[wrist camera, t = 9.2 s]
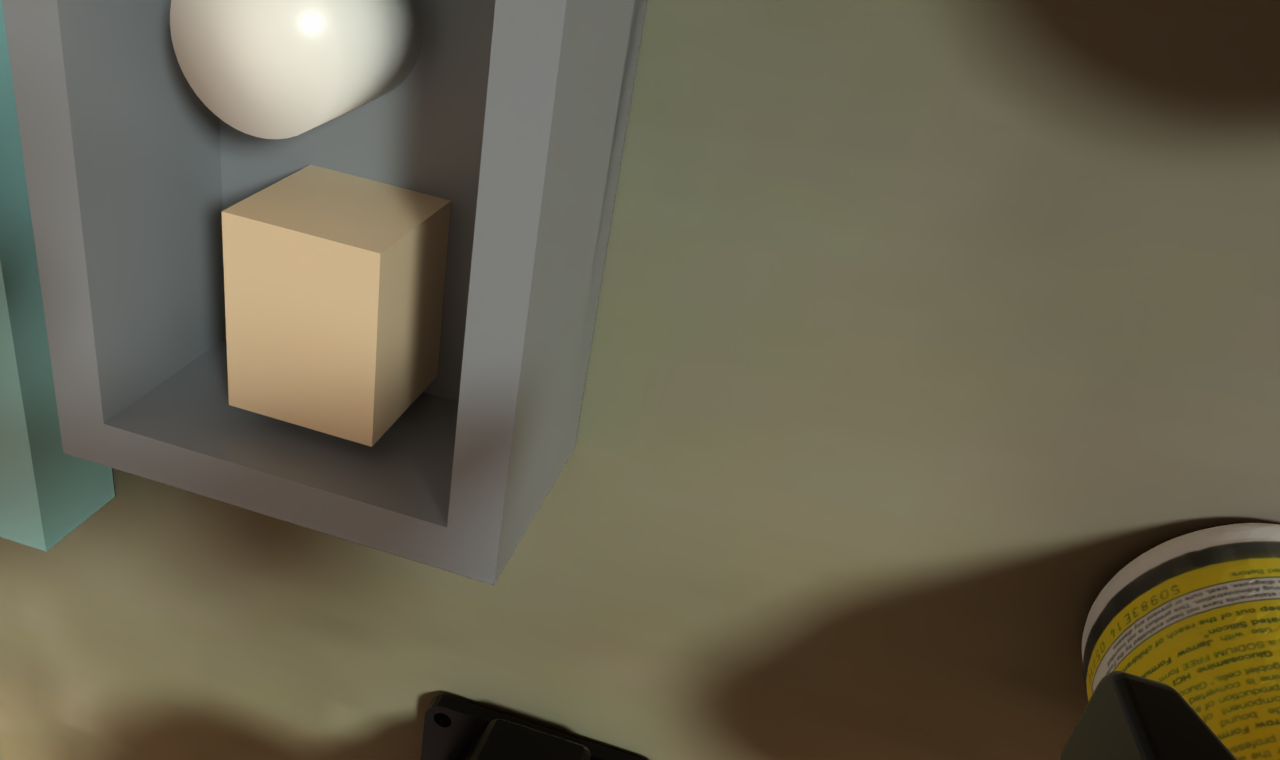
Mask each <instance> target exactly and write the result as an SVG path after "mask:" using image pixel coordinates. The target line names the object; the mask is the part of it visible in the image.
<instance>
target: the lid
mask: <svg viewBox="0 0 1280 760" xmlns="http://www.w3.org/2000/svg"><path fill="white" fill-rule="evenodd" d="M114 497H115V492H114V483H113V474H112V468H111V467H107V466H104V465H101V464H98V463H94V462H91V461H88V460H85V459H81V458H78V457H75V456H72V455H68V454H65V453H63V448H62V440H61V433H60V426H59V418H58V411H57V403H56V396H55V389H54V381H53V374H52V367H51V359H50V352H49V345H48V337H47V330H46V323H45V315H44V308H43V301H42V293H41V286H40V278H39V271H38V264H37V256H36V249H35V242H34V234H33V227H32V220H31V212H30V205H29V198H28V190H27V183H26V176H25V168H24V161H23V154H22V146H21V139H20V131H19V124H18V117H17V109H16V102H15V95H14V87H13V80H12V73H11V65H10V58H9V51H8V43H7V36H6V29H5V21H4V14H3V6H2V0H0V537H2V538H5V539H8V540H11V541H14V542H18V543H21V544H24V545H27V546H30V547H33V548H36V549H39V550H42V551H46V552H47V551H48V550H49V549H50V548H52V547H53V546H54V545H55V544H57V543H58V542H59V541H60V540H62V539H63V538H64V537H65V536H67V535H68V534H69V533H70V532H72V531H73V530H74V529H75V528H76V527H78V526H79V525H80V524H81V523H83V522H84V521H85V520H86V519H88V518H89V517H90V516H91V515H93V514H94V513H95V512H96V511H98V510H99V509H100V508H101V507H103V506H104V505H105V504H106V503H108V502H109V501H110V500H111V499H113V498H114Z"/></svg>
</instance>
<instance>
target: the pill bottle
mask: <svg viewBox="0 0 1280 760" xmlns="http://www.w3.org/2000/svg"><path fill="white" fill-rule="evenodd" d="M1082 662H1083V676H1084V682H1085V688H1086V693H1087V696H1088V702H1089V700H1090V698H1091V696H1092V694H1093V692H1094V690H1095V688H1096V687H1097V685H1098V683H1099V682H1100V680H1101V679H1102V678H1103V677H1104V676H1105V675H1106V674H1107V673H1110V672H1114V671H1123V672H1126V673H1130V674H1133V675H1137V676H1140V677H1143V678H1147V679H1150V680H1154V681H1157V682H1161V683H1164V684H1167V685H1169V686H1171V687H1172V688H1174V689H1175V690H1176V691H1177V692H1178V693H1179V694H1180V695H1181V696H1182V697H1183V698H1184V699H1185V700H1186V702H1187V703H1188V704H1189V705H1190V706H1191V707H1192V708H1193V710H1194V711H1195V712H1196V713H1197V714H1198V715H1199V716H1200V718H1201V719H1202V720H1203V721H1204V722H1205V723H1206V724H1207V726H1208V727H1209V728H1210V729H1211V730H1212V731H1213V732H1214V734H1215V735H1216V736H1217V737H1218V738H1219V739H1220V740H1221V742H1222V743H1223V744H1224V745H1225V746H1226V747H1227V748H1228V750H1229V751H1230V752H1231V753H1232V754H1233V755H1234V756H1235V758H1236V759H1237V760H1280V524H1268V523H1240V524H1230V525H1223V526H1217V527H1212V528H1207V529H1203V530H1199V531H1195V532H1192V533H1188V534H1185V535H1182V536H1179V537H1176V538H1174V539H1171V540H1169V541H1166V542H1164V543H1162V544H1160V545H1158V546H1156V547H1154V548H1152V549H1150V550H1149V551H1147V552H1145V553H1143V554H1141V555H1140V556H1138V557H1137V558H1136V559H1134V560H1133V561H1131V562H1130V563H1129V564H1127V565H1126V566H1125V567H1124V568H1122V569H1121V570H1120V571H1119V572H1118V573H1117V574H1116V575H1115V576H1114V577H1113V578H1112V579H1111V580H1110V581H1109V582H1108V583H1107V584H1106V586H1105V587H1104V588H1103V589H1102V591H1101V592H1100V594H1099V595H1098V597H1097V598H1096V600H1095V601H1094V603H1093V605H1092V607H1091V610H1090V612H1089V614H1088V617H1087V620H1086V624H1085V627H1084V632H1083V637H1082Z"/></svg>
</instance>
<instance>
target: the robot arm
mask: <svg viewBox="0 0 1280 760" xmlns="http://www.w3.org/2000/svg"><path fill="white" fill-rule="evenodd" d="M421 760H644V759H641V758H638V757H635V756H632V755H629V754H626V753H622V752H619V751H616V750H613V749H610V748H607V747H604V746H601V745H598V744H595V743H592V742H589V741H586V740H582V739H579V738H576V737H573V736H570V735H567V734H564V733H561V732H558V731H555V730H552V729H549V728H546V727H542V726H539V725H536V724H533V723H530V722H527V721H524V720H521V719H518V718H515V717H512V716H509V715H506V714H502V713H499V712H496V711H493V710H490V709H487V708H484V707H481V706H478V705H475V704H472V703H469V702H466V701H462V700H459V699H456V698H453V697H450V696H445V695H442V696H437V697H436V698H434V699H433V700H432V702H431V704H430V706H429V707H428V709H427V711H426V714H425V722H424V734H423V745H422V756H421ZM1060 760H1237V759H1236V758H1235V756H1234V755H1233V754H1232V753H1231V752H1230V751H1229V750H1228V748H1227V747H1226V746H1225V745H1224V744H1223V743H1222V742H1221V740H1220V739H1219V738H1218V737H1217V736H1216V735H1215V734H1214V732H1213V731H1212V730H1211V729H1210V728H1209V727H1208V726H1207V724H1206V723H1205V722H1204V721H1203V720H1202V719H1201V718H1200V716H1199V715H1198V714H1197V713H1196V712H1195V711H1194V710H1193V708H1192V707H1191V706H1190V705H1189V704H1188V703H1187V702H1186V700H1185V699H1184V698H1183V697H1182V696H1181V695H1180V694H1179V693H1178V692H1177V691H1176V690H1175V689H1174V688H1172V687H1171V686H1169V685H1167V684H1164V683H1161V682H1157V681H1154V680H1150V679H1147V678H1143V677H1140V676H1137V675H1133V674H1130V673H1126V672H1123V671H1114V672H1110V673H1107V674H1106V675H1105V676H1104V677H1103V678H1102V679H1101V680H1100V682H1099V683H1098V685H1097V687H1096V688H1095V690H1094V692H1093V694H1092V696H1091V698H1090V700H1089V702H1088V704H1087V705H1086V707H1085V709H1084V711H1083V713H1082V715H1081V717H1080V719H1079V721H1078V722H1077V724H1076V726H1075V728H1074V730H1073V732H1072V734H1071V736H1070V737H1069V739H1068V741H1067V743H1066V745H1065V747H1064V749H1063V752H1062V755H1061V758H1060Z"/></svg>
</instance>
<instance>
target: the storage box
mask: <svg viewBox="0 0 1280 760" xmlns="http://www.w3.org/2000/svg"><path fill="white" fill-rule="evenodd" d="M646 4H647V0H2V6H3V14H4V21H5V29H6V36H7V43H8V51H9V58H10V65H11V73H12V80H13V87H14V95H15V102H16V109H17V117H18V124H19V131H20V139H21V146H22V154H23V161H24V168H25V176H26V183H27V190H28V198H29V205H30V212H31V220H32V227H33V234H34V242H35V249H36V256H37V264H38V271H39V278H40V286H41V293H42V301H43V308H44V315H45V323H46V330H47V337H48V345H49V352H50V359H51V367H52V374H53V381H54V389H55V396H56V403H57V411H58V418H59V426H60V433H61V440H62V448H63V453H65V454H68V455H72V456H75V457H78V458H81V459H85V460H88V461H91V462H94V463H98V464H101V465H104V466H107V467H111V468H114V469H117V470H120V471H124V472H127V473H130V474H133V475H137V476H140V477H143V478H146V479H150V480H153V481H156V482H159V483H163V484H166V485H169V486H172V487H176V488H179V489H182V490H185V491H189V492H192V493H195V494H198V495H202V496H205V497H208V498H211V499H215V500H218V501H221V502H224V503H228V504H231V505H234V506H237V507H241V508H244V509H247V510H250V511H254V512H257V513H260V514H263V515H267V516H270V517H273V518H276V519H280V520H283V521H286V522H289V523H293V524H296V525H299V526H302V527H306V528H309V529H312V530H315V531H319V532H322V533H325V534H328V535H332V536H335V537H338V538H341V539H345V540H348V541H351V542H354V543H358V544H361V545H364V546H367V547H371V548H374V549H377V550H380V551H384V552H387V553H390V554H393V555H397V556H400V557H403V558H406V559H410V560H413V561H416V562H419V563H423V564H426V565H429V566H432V567H436V568H439V569H442V570H445V571H449V572H452V573H455V574H458V575H462V576H465V577H468V578H471V579H475V580H478V581H481V582H484V583H488V584H491V585H494V584H495V582H496V581H497V579H498V577H499V576H500V574H501V572H502V570H503V569H504V567H505V565H506V564H507V562H508V560H509V559H510V557H511V555H512V553H513V552H514V550H515V548H516V547H517V545H518V543H519V542H520V540H521V538H522V537H523V535H524V533H525V531H526V530H527V528H528V526H529V525H530V523H531V521H532V520H533V518H534V516H535V514H536V513H537V511H538V509H539V508H540V506H541V504H542V503H543V501H544V499H545V497H546V496H547V494H548V492H549V491H550V489H551V487H552V486H553V484H554V482H555V480H556V479H557V477H558V475H559V474H560V472H561V470H562V469H563V467H564V465H565V463H566V462H567V460H568V458H569V457H570V455H571V453H572V452H573V450H574V448H575V443H576V437H577V431H578V424H579V418H580V412H581V406H582V400H583V394H584V387H585V381H586V375H587V369H588V363H589V356H590V350H591V344H592V338H593V332H594V326H595V319H596V313H597V307H598V301H599V295H600V289H601V282H602V276H603V270H604V264H605V258H606V251H607V245H608V239H609V233H610V227H611V221H612V214H613V208H614V202H615V196H616V190H617V183H618V177H619V171H620V165H621V159H622V153H623V146H624V140H625V134H626V128H627V122H628V116H629V109H630V103H631V97H632V91H633V85H634V78H635V72H636V66H637V60H638V54H639V48H640V41H641V35H642V29H643V23H644V17H645V10H646Z"/></svg>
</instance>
